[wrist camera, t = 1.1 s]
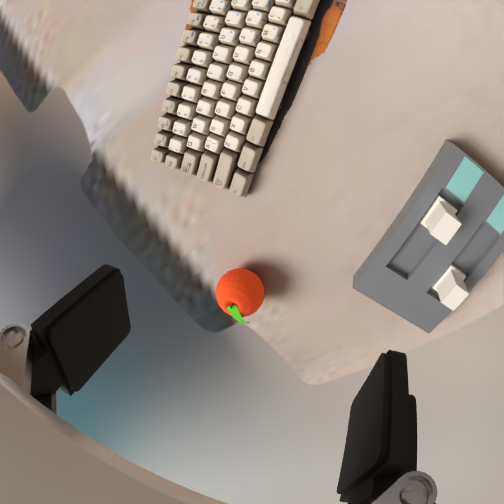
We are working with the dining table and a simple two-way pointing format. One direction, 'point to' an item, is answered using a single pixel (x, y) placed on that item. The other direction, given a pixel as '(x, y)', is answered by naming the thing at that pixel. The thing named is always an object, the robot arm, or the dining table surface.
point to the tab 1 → (441, 220)
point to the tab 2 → (451, 287)
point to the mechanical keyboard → (238, 83)
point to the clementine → (240, 293)
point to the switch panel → (436, 240)
